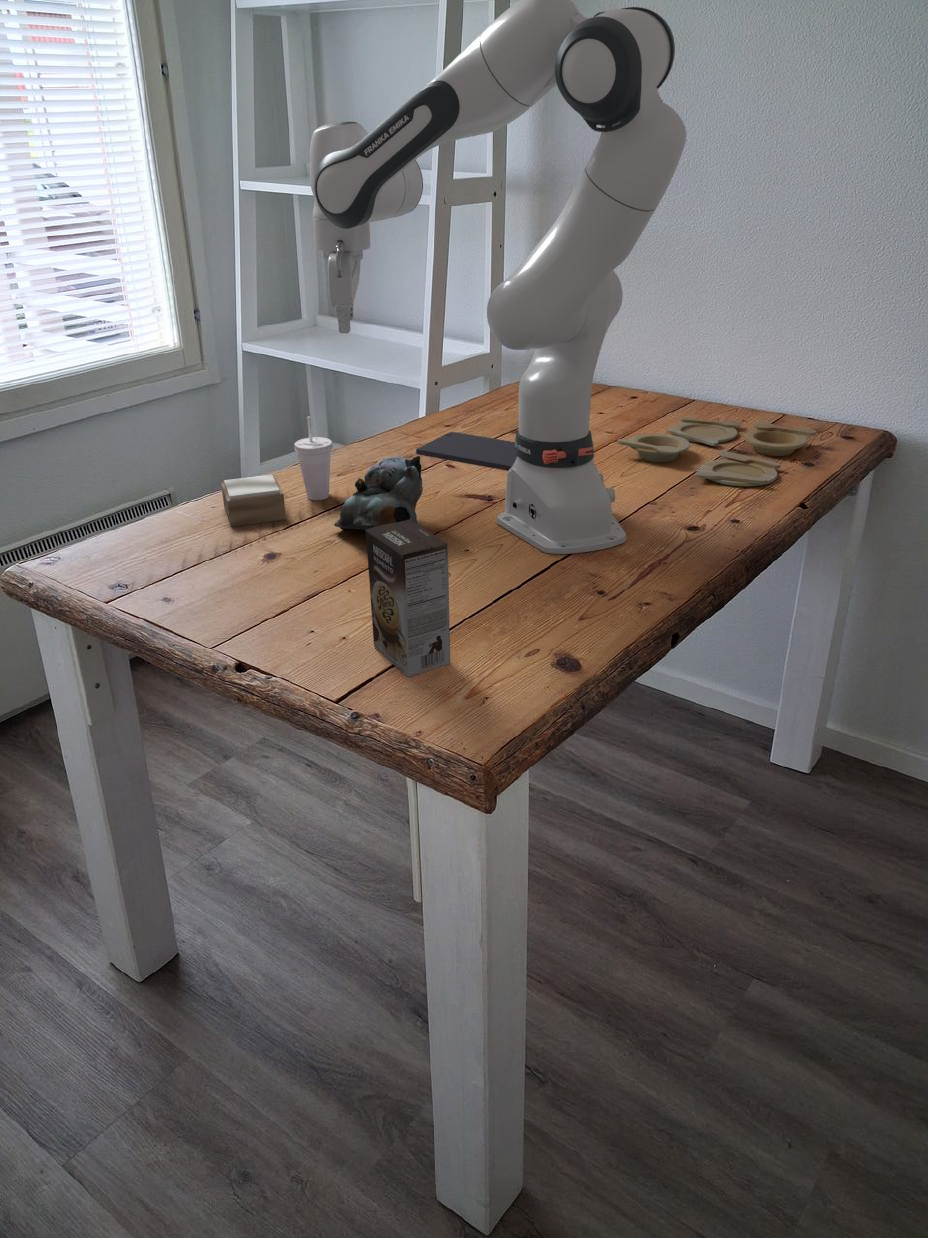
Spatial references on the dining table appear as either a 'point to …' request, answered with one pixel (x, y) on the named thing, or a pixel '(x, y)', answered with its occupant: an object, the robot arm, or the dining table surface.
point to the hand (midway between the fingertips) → (346, 325)
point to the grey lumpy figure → (384, 495)
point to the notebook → (471, 450)
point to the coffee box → (409, 596)
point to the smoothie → (315, 464)
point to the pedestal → (253, 500)
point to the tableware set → (724, 470)
